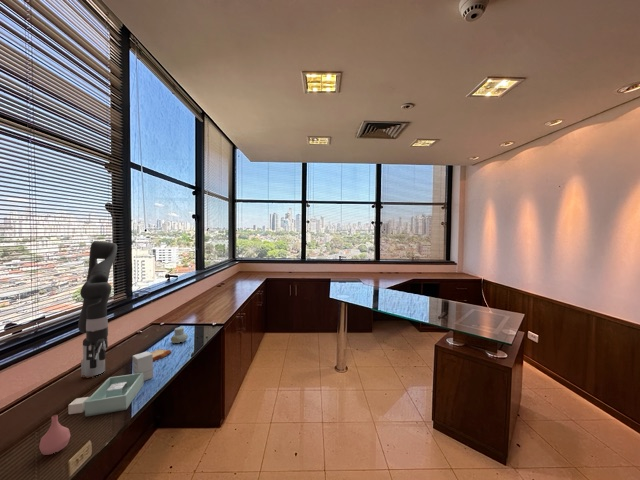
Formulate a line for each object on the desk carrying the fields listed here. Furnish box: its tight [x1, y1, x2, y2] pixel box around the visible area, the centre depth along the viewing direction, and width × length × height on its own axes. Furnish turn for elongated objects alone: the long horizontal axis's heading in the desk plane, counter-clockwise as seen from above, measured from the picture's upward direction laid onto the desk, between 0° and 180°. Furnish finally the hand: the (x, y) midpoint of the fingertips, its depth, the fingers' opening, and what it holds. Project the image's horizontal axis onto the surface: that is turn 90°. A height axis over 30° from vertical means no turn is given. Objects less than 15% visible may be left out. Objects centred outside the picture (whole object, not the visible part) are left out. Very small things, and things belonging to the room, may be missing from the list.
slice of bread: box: [150, 348, 172, 363], centre depth 168 cm, size 18×18×4 cm
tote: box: [84, 373, 144, 418], centre depth 124 cm, size 15×22×6 cm
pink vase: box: [38, 414, 72, 456], centre depth 93 cm, size 8×8×12 cm
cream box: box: [67, 396, 90, 415], centre depth 117 cm, size 5×5×4 cm
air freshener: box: [170, 326, 189, 344], centre depth 195 cm, size 11×8×10 cm
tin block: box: [106, 382, 127, 398], centre depth 124 cm, size 6×6×5 cm
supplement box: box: [132, 351, 154, 382], centre depth 143 cm, size 7×7×13 cm
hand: (97, 363), depth 120 cm, fingers open, 8 cm apart
